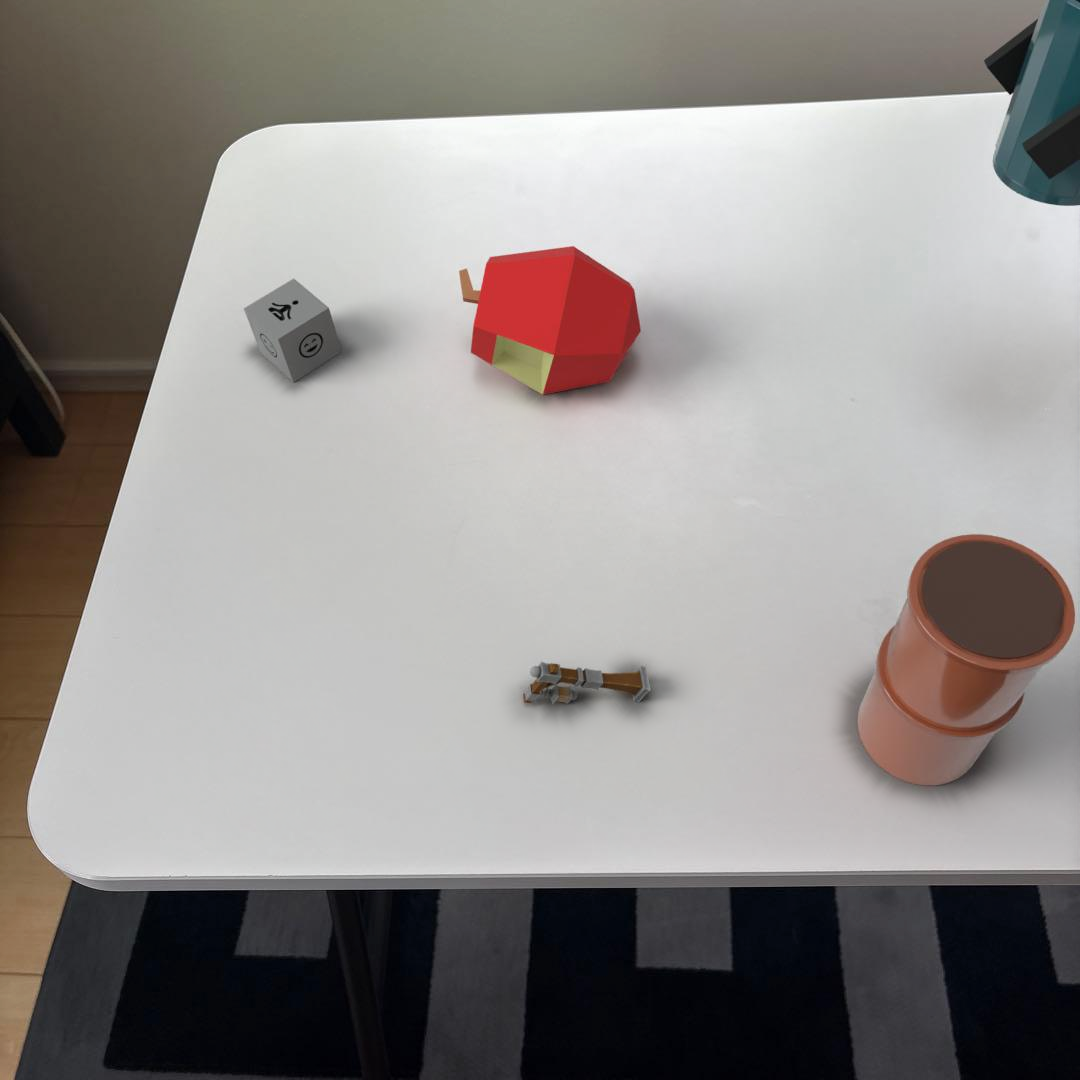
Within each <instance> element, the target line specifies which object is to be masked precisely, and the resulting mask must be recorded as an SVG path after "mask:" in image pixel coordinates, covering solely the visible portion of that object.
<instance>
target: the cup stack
mask: <svg viewBox="0 0 1080 1080" xmlns="http://www.w3.org/2000/svg"><path fill="white" fill-rule="evenodd" d="M1075 622H1076V609H1075V602H1074V599H1073V596H1072V593H1071V591H1070V588H1069V586H1068V585H1067V583H1066V581H1065V579H1064V578H1063V576H1062V575H1061V574H1060V573H1059V572H1058V570H1057V569H1056V568H1055V567H1054V566H1053V565H1052V564H1051V563H1050V562H1049V561H1048V560H1046V559H1045V557H1043V556H1042V555H1040V554H1039V553H1038V552H1036V551H1034V550H1033V549H1031V548H1029V547H1027V546H1025V545H1024V544H1021V543H1019V542H1017V541H1014V540H1011V539H1008V538H1005V537H1002V536H996V535H990V534H983V533H982V534H981V533H978V534H977V533H973V534H972V533H971V534H961V535H956V536H952V537H949V538H946V539H943V540H941V541H940V542H938V543H936V544H934V545H932V546H931V547H930V548H928V549H927V550H926V551H924V553H923V554H921V556H920V557H919V559H918V560H917V561H916V563H915V565H914V566H913V568H912V571H911V573H910V576H909V579H908V582H907V588H906V599H905V602H904V604H903V606H902V608H901V611H900V612H899V616H898V618H897V620H896V623H895V624H894V625H893V626H892V627H891V628H890V629H889V630H888V631H887V633H886V634H885V636H884V638H883V639H882V641H881V644H880V645H879V648H878V651H877V654H876V661H875V671H874V673H873V674H872V677H871V680H870V682H869V684H868V687H867V689H866V691H865V693H864V696H863V698H862V701H861V703H860V705H859V708H858V712H857V731H858V735H859V738H860V741H861V743H862V746H863V748H864V749H865V751H866V753H867V754H868V756H869V757H870V758H871V759H872V760H873V761H874V762H875V763H876V765H878V766H879V767H880V768H881V769H882V770H883V771H885V772H886V773H888V774H890V775H891V776H892V777H894V778H896V779H898V780H901V781H904V782H905V783H909V784H913V785H919V786H941V785H944V784H945V785H946V784H948V783H951V782H954V781H956V780H958V779H959V778H961V777H962V776H964V775H965V774H966V773H968V771H969V770H970V769H971V768H972V767H973V765H974V764H975V763H976V761H977V760H978V758H980V756H981V754H982V753H983V751H984V750H985V748H987V746H988V744H989V743H990V741H991V740H992V738H993V737H994V736H995V735H996V733H998V732H1001V730H1003V729H1004V728H1005V727H1007V726H1008V725H1009V724H1010V722H1011V721H1012V720H1013V719H1014V717H1015V716H1016V715H1017V714H1018V712H1019V710H1020V709H1021V706H1022V703H1023V701H1024V698H1025V692H1026V690H1027V689H1028V688H1029V686H1030V685H1031V683H1032V681H1034V679H1035V678H1036V676H1037V675H1038V673H1039V672H1040V671H1041V669H1042V668H1043V667H1044V666H1046V665H1047V664H1050V662H1052V661H1053V660H1054V659H1055V658H1057V656H1058V655H1059V654H1060V653H1061V652H1062V651H1063V650H1064V648H1065V647H1066V645H1067V644H1068V642H1069V641H1070V639H1071V637H1072V634H1073V632H1074V628H1075Z"/></svg>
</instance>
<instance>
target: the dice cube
mask: <svg viewBox="0 0 1080 1080" xmlns="http://www.w3.org/2000/svg"><path fill="white" fill-rule="evenodd" d="M243 311H244V313H245V317H246V319H247V321H248V324H249V326H250V329H251V331H252V334H253V336H254V337H253V338H254V339H255V342H256V345H257V347H258V350H259V352H260V353H261V355H262V356H264V357H265V358H266V359H267V360H268V361H269V362H270V363H271V364H272V365H274V366H275V367H276V368H277V370H279V371H280V372H281V373H282V374H284V375H285V376H286V378H288V380H290V381H291V382H292V383H295V382H297V381H299V380H300V379H302V378H303V377H305V376H306V375H308V374H310V373H311V372H312V371H314V370H316V369H317V368H320V366H322V365H324V364H325V363H327V362H328V361H331V359H333V358H334V357H336V356H337V355H339V354H341V353H343V352H342V351H343V350H342V348H341V345H340V341H339V337H338V334H337V331H336V327H335V325H334V324H335V323H334V320H333V317H332V314H331V310H330V307H328V305H326V304H325V303H324V302H323V301H322V300H320V299H319V298H318V297H317V296H316V295H314V294H313V293H312V292H311V291H310V290H309V289H307V288H306V287H305V286H304V285H302V284H301V283H300V282H299V281H298V280H297V279H296V278H292V279H290V280H288V281H287V282H285V283H284V284H281V285H280V286H279V287H277V288H275V289H274V290H272V291H270V292H268V293H267V294H265V295H264V296H262V297H260V298H259V299H257V300H255V301H253V302H252V303H250V304H249V305H247V306H245V307H244V308H243Z"/></svg>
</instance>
